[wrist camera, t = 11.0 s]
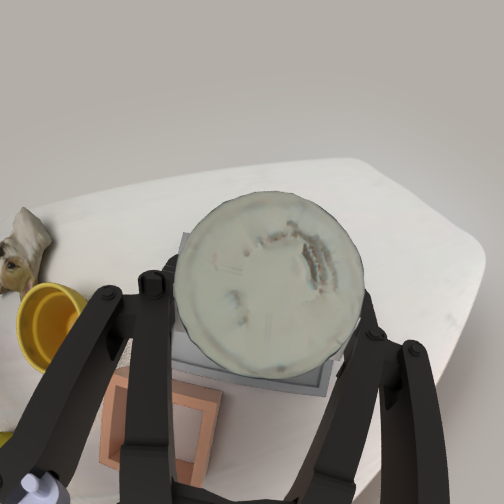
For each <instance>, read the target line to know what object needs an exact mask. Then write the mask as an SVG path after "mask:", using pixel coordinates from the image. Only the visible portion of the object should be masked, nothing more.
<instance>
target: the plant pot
mask: <svg viewBox="0 0 504 504" xmlns="http://www.w3.org/2000/svg"><path fill="white" fill-rule="evenodd" d="M87 303H88V302H87V301H86V300H85V298H84V297H83V296H82V295H81V294H79V293H78V292H77V291H75V290H73V289H71V288H69V287H66V286H63V285H60V284H57V283H51V282H46V283H41V284H38V285H36V286H34V287H33V288H32V289H30V290H29V291H28V292H27V294H26V295H25V296H24V298H23V300H22V302H21V304H20V306H19V309H18V313H17V320H16V331H17V338H18V342H19V345H20V348H21V351H22V353H23V355H24V357H25V358H26V360H27V361H28V362H29V363H30V365H31V366H32V367H34V368H35V369H36V370H37V371H39V372H41V373H43V374H44V373H45V371H46V369H47V368H48V366H49V364H50V363H51V361H52V359H53V357H54V356H55V354H56V352H57V351H58V349H59V347H60V346H61V344H62V342H63V341H64V339H65V337H66V336H67V334H68V333H69V331H70V329H71V328H72V326H73V325H74V323H75V322H76V320H77V318H78V317H79V315H80V314H81V312H82V311H83V309H84V308H85V306H86V305H87Z"/></svg>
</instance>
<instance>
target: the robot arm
mask: <svg viewBox="0 0 504 504" xmlns="http://www.w3.org/2000/svg"><path fill="white" fill-rule="evenodd" d="M178 256H179V255H178V254H176V255H175V256H173V257H171V258H170V259H169V260H168V262H167V263H166V265H165V266H164V268H163V269H162V271H159V270H149V271H146V272H143V273H142V274H141V275H140V276H139V278H138V285H139V294H134V295H123V294H122V290H121V289H120V288H119V287H117V286H114V285H107V286H103V287H101V288H99V289H98V290H97V291H96V292H95V293H94V294H93V296H92V297H91V299H90V300H89V302H88V303H87V305H86V306H85V308H84V309H83V311H82V312H81V314H80V315H79V317H78V318H77V320H76V322H75V323H74V325H73V326H72V328H71V329H70V331H69V333H68V334H67V336H66V337H65V339H64V341H63V342H62V344H61V346H60V347H59V349H58V351H57V352H56V354H55V356H54V357H53V359H52V361H51V363H50V364H49V366H48V368H47V369H46V371H45V373H44V375H43V377H42V378H41V380H40V382H39V384H38V386H37V388H36V389H35V391H34V393H33V395H32V397H31V399H30V401H29V403H28V405H27V407H26V409H25V411H24V413H23V415H22V417H21V419H20V421H19V423H18V425H17V427H16V429H15V432H14V434H13V436H12V437H11V438H10V439H9V440H8V441H7V442H6V443H5V444H4V445H3V446H2V447H1V448H0V504H70V495H69V493H68V491H67V489H66V487H67V486H68V484H69V483H70V481H71V479H72V477H73V475H74V473H75V470H76V468H77V466H78V463H79V460H80V457H81V454H82V451H83V449H84V446H85V443H86V440H87V438H88V435H89V432H90V430H91V427H92V425H93V422H94V420H95V417H96V414H97V412H98V409H99V407H100V404H101V402H102V400H103V397H104V395H105V392H106V390H107V388H108V385H109V383H110V380H111V378H112V376H113V373H114V371H115V369H116V367H117V364H118V362H119V360H120V358H121V355H122V353H123V351H124V349H125V346H126V344H127V342H128V340H129V338H133V342H132V350H131V359H130V368H129V378H128V390H127V403H126V419H125V439H124V443H123V444H122V445H121V448H120V470H119V482H120V502H119V503H117V504H351V503H352V500H353V497H354V494H355V491H356V484H355V483H354V477H355V474H356V471H357V468H358V465H359V461H360V458H361V455H362V452H363V448H364V445H365V441H366V438H367V434H368V430H369V426H370V423H371V419H372V415H373V410H374V406H375V402H376V397H377V393H378V388H379V397H380V415H381V499H380V504H450V497H449V480H448V467H447V457H446V449H445V441H444V434H443V427H442V421H441V415H440V410H439V404H438V398H437V393H436V388H435V384H434V379H433V375H432V370H431V366H430V362H429V358H428V354H427V351H426V349H425V347H424V346H423V345H422V344H421V343H419V342H418V341H415V340H407V341H405V342H404V343H403V345H400V344H397V343H395V342H392V341H390V340H388V339H387V335H386V333H385V331H383V330H382V329H381V328H380V327H378V323H377V319H376V315H375V312H374V309H373V304H372V300H371V296H370V294H369V293H368V292H367V291H366V289H365V296H364V300H363V304H362V310H361V316H360V318H359V320H358V322H357V324H356V327H355V329H354V331H353V332H352V335H351V336H350V337H349V338H348V340H347V341H346V342H345V343H344V344H343V346H342V347H341V348H340V349H339V351H338V352H337V353H336V354H335V355H334V356H332V357H331V358H329V359H330V360H338V361H340V359H341V357H342V355H343V353H344V362H343V364H342V366H341V368H340V369H339V371H338V373H337V375H336V377H337V380H336V383H335V386H334V388H333V391H332V394H331V397H330V399H329V402H328V405H327V407H326V410H325V413H324V415H323V418H322V420H321V423H320V425H319V428H318V430H317V433H316V435H315V437H314V440H313V442H312V444H311V447H310V449H309V451H308V454H307V456H306V458H305V460H304V463H303V465H302V467H301V469H300V471H299V473H298V475H297V478H296V480H295V482H294V484H293V486H292V488H291V489H290V491H289V492H288V494H287V495H286V497H285V498H284V500H283V501H279V500H269V499H263V500H252V501H238V502H234V501H230V500H227V499H225V498H223V497H220V496H218V495H216V494H214V493H211V492H209V491H207V490H205V489H203V488H198V487H194V486H190V485H186V484H182V483H178V478H177V472H176V462H175V448H174V431H173V408H172V333H171V329H172V327H173V325H174V323H175V331H179V332H183V333H186V331H185V329H184V327H183V324H182V322H181V320H180V317H179V314H178V311H177V307H176V302H175V294H174V273H175V271H176V262H177V259H178Z"/></svg>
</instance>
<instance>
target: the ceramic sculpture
mask: <svg viewBox="0 0 504 504" xmlns="http://www.w3.org/2000/svg"><path fill="white" fill-rule="evenodd" d="M51 241H52V239H51V237H50V235H49V234H48V233H47V231H46V230H45V228H44V227H43V225H42V223H41V221H40V219H39V218H37V217H36V216H35V215H34V214H32V213H31V212H30V211H29V210H27V209H26V208H25V207H23V208H22V209H21V211H20V212H19V213H18V214H17V215H16V217H15V220H14V223H13V229H12V233H11V235H10V237H8V238H5V239H4V240H3V241H2V242H1V243H0V294H2V293H4V292H6V291H8V290H11V291H17V292H19V293H20V298H21V302H22V300H23V298H24V296H25V295H26V294H27V292H28V291H29V290H30V289H32V288H33V287H34V286H36V285H38V272H39V268H40V262H41V259H42V255H43V251H44V250H45V248H46V247H47V246H49V245H50V243H51Z"/></svg>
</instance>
